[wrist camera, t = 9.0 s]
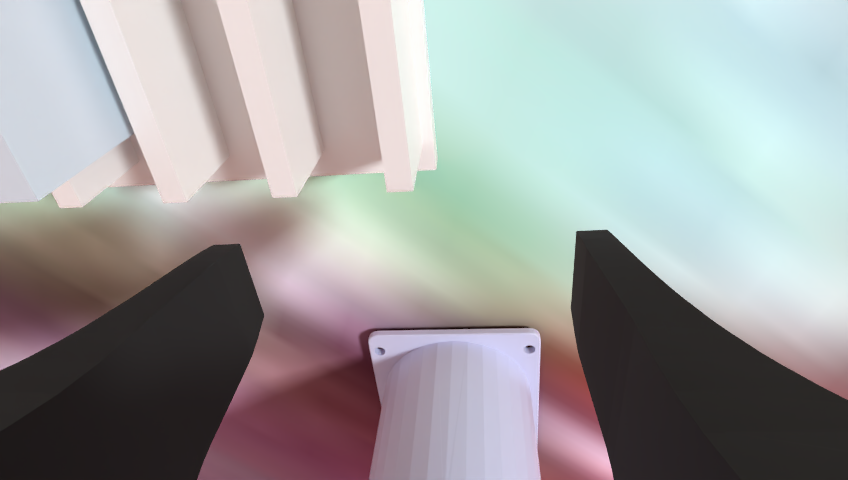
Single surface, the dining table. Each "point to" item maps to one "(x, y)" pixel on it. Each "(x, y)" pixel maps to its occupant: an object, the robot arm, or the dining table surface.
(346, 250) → the dining table surface
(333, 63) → the dish rack
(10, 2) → the plate tile
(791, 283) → the dining table surface
